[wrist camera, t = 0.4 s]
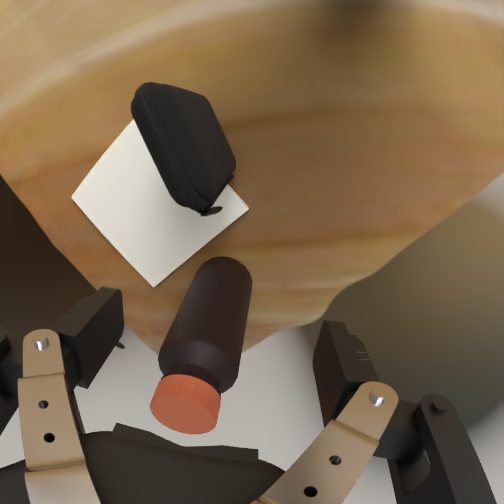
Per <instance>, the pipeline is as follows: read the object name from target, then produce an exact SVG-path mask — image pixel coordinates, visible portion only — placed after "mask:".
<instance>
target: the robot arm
mask: <svg viewBox="0 0 504 504" xmlns="http://www.w3.org/2000/svg"><path fill="white" fill-rule="evenodd" d="M123 329H124V317H123V303H122V293H121V290H119V289H114V288H109V287H105V286H103V287H101V288H100V289H99V290H98V291H97V292H96V293H95V294H94V295H93V296H88V297H86V298H84V299H82V300H80V301H79V302H78V303H77V304H76V305H75V306H74V307H73V308H72V309H70V310H69V311H68V314H67V313H66V314H65V315H64V316H63V317H62V318H61V319H60V320H59V321H58V322H57V323H56V324H55V325H54V326H53V327H52V328H51V329H50V330H48V329H40V330H35V331H33V332H31V333H29V334H28V335H27V336H26V337H25V338H24V340H19V339H9V338H8V334H7V331H6V329H5V328H4V327H3V326H1V325H0V435H1V434H2V432H3V430H4V429H5V427H6V425H7V423H8V422H9V420H10V419H11V417H12V415H13V414H14V413H15V411H16V410H17V408H18V407H19V414H20V425H21V433H22V441H23V448H24V455H25V459H24V460H21V461H19V462H17V463H14V464H11V465H8V466H6V467H3V468H0V504H342V502H343V501H344V499H345V498H346V497H347V495H348V493H349V492H350V491H351V489H352V487H353V486H354V485H355V483H356V481H357V480H358V478H359V477H360V475H361V474H362V472H363V470H364V469H365V467H366V465H367V464H368V462H369V460H370V458H371V457H372V456H376V457H382V458H387V461H388V466H389V470H390V474H391V479H392V483H393V488H394V492H395V497H396V502H397V504H497V503H496V500H495V498H494V495H493V493H492V490H491V487H490V485H489V482H488V480H487V477H486V475H485V473H484V470H483V468H482V465H481V463H480V461H479V459H478V456H477V454H476V452H475V449H474V447H473V445H472V443H471V441H470V439H469V436H468V434H467V432H466V430H465V428H464V426H463V424H462V422H461V420H460V418H459V416H458V414H457V412H456V410H455V408H454V406H453V404H452V403H451V402H450V401H449V400H448V399H446V398H445V397H443V396H441V395H437V394H428V395H426V396H424V397H423V398H422V400H421V401H420V403H419V404H415V403H410V402H405V401H401V400H398V396H397V394H396V392H395V391H394V390H393V389H392V388H391V387H389V386H388V385H386V384H384V383H380V381H379V379H378V376H377V374H376V372H375V370H374V367H373V365H372V363H371V361H370V360H369V359H370V358H369V356H368V354H367V353H366V349H365V347H364V345H363V343H362V342H361V341H360V340H359V339H358V338H357V337H356V336H355V335H349V334H348V331H347V329H346V326H345V324H344V322H339V321H329V320H325V321H324V322H323V324H322V327H321V331H320V334H319V337H318V341H317V344H316V347H315V351H314V355H313V370H314V375H315V380H316V385H317V391H318V396H319V401H320V406H321V412H322V417H323V423H324V430H323V431H322V432H321V433H320V434H319V436H318V437H317V438H316V439H315V440H314V442H313V443H312V444H311V445H310V446H309V447H308V448H307V450H306V451H305V452H304V453H303V454H302V455H301V456H300V457H299V458H298V459H297V461H296V462H295V463H294V464H293V465H292V466H291V467H290V468H289V469H288V470H287V471H286V472H285V471H284V470H282V469H281V468H279V467H277V466H275V465H273V464H271V463H268V462H266V461H263V460H260V459H258V449H248V448H239V447H231V446H223V445H220V446H198V447H197V446H196V447H184V446H180V445H178V444H175V443H173V442H171V441H169V440H166V439H164V438H162V437H160V436H158V435H155V434H153V433H151V432H149V431H145V430H141V429H137V428H134V427H130V426H127V425H123V424H120V423H116V425H115V427H114V429H113V431H100V432H92V433H87V434H86V433H85V430H84V426H83V423H82V420H81V416H80V412H79V409H78V405H77V401H76V397H75V394H74V391H73V390H74V388H75V387H76V385H77V386H80V387H83V388H86V389H88V387H89V386H90V384H91V382H92V381H93V379H94V378H95V376H96V375H97V373H98V371H99V370H100V368H101V367H102V365H103V364H104V362H105V361H106V359H107V358H108V356H109V354H110V353H111V351H112V350H113V348H114V347H115V345H116V344H117V342H118V341H119V339H120V338H121V336H122V333H123ZM426 453H427V455H426ZM427 456H428V458H427ZM428 459H429V461H428ZM429 462H430V464H429Z"/></svg>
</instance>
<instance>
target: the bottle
mask: <svg viewBox="0 0 504 504" xmlns="http://www.w3.org/2000/svg"><path fill="white" fill-rule="evenodd" d="M251 290H252V280H251V276H250V273H249V272H248V270H247V269H246V267H245V266H244V265H242V264H241V263H240V262H238V261H237V260H234V259H232V258H229V257H216V258H212V259H210V260H208V261H207V262H205V263H203V265H202V266H201V267H200V268H199V270H198V272H197V274H196V276H195V278H194V280H193V282H192V284H191V286H190V288H189V290H188V292H187V294H186V296H185V298H184V300H183V302H182V304H181V306H180V308H179V311H178V313H177V315H176V317H175V319H174V321H173V323H172V325H171V327H170V329H169V331H168V334H167V336H166V338H165V340H164V342H163V344H162V346H161V349H160V352H159V356H158V361H159V367H160V370H161V371H162V373H163V375H164V376H163V377H162V378H161V381H160V382H159V384H158V386H157V388H156V391H155V393H154V396H153V398H152V401H151V403H150V408H151V409H150V410H151V412H152V414H153V415H154V417H155V418H156V419H157V420H158V421H159V422H161V423H162V424H163V425H165V426H167V427H169V428H171V429H173V430H176V431H178V432H182V433H188V434H202V433H207V432H209V431H211V430H212V429H213V428H214V427H215V426H216V423H217V418H218V413H219V408H220V400H221V393H223V392H225V391H226V390H228V389H229V388H231V387H232V386H233V384H234V382H235V381H236V379H237V376H238V371H239V365H240V358H241V352H242V346H243V340H244V334H245V327H246V321H247V315H248V309H249V302H250V296H251Z"/></svg>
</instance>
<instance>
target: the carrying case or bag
mask: <svg viewBox="0 0 504 504" xmlns="http://www.w3.org/2000/svg"><path fill="white" fill-rule="evenodd" d="M131 113H132V116H133V119H134V121H135V123H136V125H137V127H138V129H139V132H140V134H141V136H142V138H143V140H144V142H145V145H146V147H147V149H148V151H149V153H150V155H151V157H152V159H153V161H154V163H155V165H156V168H157V170H158V172H159V174H160V176H161V178H162V180H163V182H164V184H165V186H166V188H167V190H168V192H169V194H170V196H171V197H172V199H173V200H174V201H175V202H176V203H177V204H178V205H180V206H182V207H187V208H190V209H191V210H194V211H196V212H198V214H200V215H201V216H211V215H215V214H217V213H219V212H220V211H221V210H222V209H223V207H221V206H216V207H212V206H213V205H214V203H215V201H216V200H217V199H218V197H219V196H220V194H221V193H222V191H223V190H224V189H225V187H226V186H227V184H228V183H229V182H230V180H231V179H232V178H233V177H234V176H233V174H232V172H233V171H234V169H235V167H236V161H235V157H234V155H233V153H232V150H231V148H230V146H229V144H228V142H227V140H226V137H225V135H224V133H223V131H222V129H221V127H220V124H219V122H218V120H217V118H216V116H215V114H214V112H213V109H212V107H211V105H210V103H209V102H208V100H207V99H206V98H205V97H204V96H202V95H200V94H197V93H194V92H191V91H188V90H185V89H182V88H178V87H175V86H171V85H167V84H159V83H153V82H148V83H144V84H142V85H140V86H139V87H138V89H137V90H136V92H135V97H134V98H133V100H132V103H131Z"/></svg>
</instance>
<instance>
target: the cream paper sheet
mask: <svg viewBox="0 0 504 504" xmlns="http://www.w3.org/2000/svg"><path fill="white" fill-rule="evenodd" d="M71 198H72V199H73V200H74V201H75V202H76V204H77V205H78V206H79V207H80V208H81V210H82V211H83V212H84V213H85V214H86V215H87V217H88V218H89V219H90V220H91V221H92V222H93V224H94V225H95V226H96V227H97V228H98V229H99V230H100V231H101V233H102V234H103V235H104V236H105V237H106V238H107V239H108V240H109V241H110V243H111V244H112V245H113V246H114V247H115V248H116V249H117V250H118V251H119V252H120V253H121V254H122V256H123V257H124V258H125V259H126V260H127V261H128V262H129V263H130V264H131V265H132V266H133V267H134V268H135V269H136V270H137V271H138V272H139V273H140V274H141V275H142V276H143V277H144V278H145V279H146V281H147V282H148V283H149V284H150V285H151V286H152V287H153V288H154V287H155V286H156V285H157V284H159V283H160V282H161V281H162V280H163V279H165V278H166V277H167V276H168V275H169V274H170V273H172V272H173V271H174V270H175V269H176V268H178V267H179V266H180V265H181V264H182V263H184V262H185V261H186V260H187V259H188V258H190V257H191V256H192V255H193V254H194V253H196V252H197V251H198V250H199V249H201V248H202V247H203V246H204V245H205V244H207V243H208V242H209V241H210V240H211V239H213V238H214V237H215V236H216V235H218V234H219V233H220V232H221V231H223V230H224V229H225V228H226V227H228V226H229V225H230V224H231V223H232V222H234V221H235V220H236V219H237V218H239V217H240V216H241V215H242V214H244V213H245V212H246V211H247V210H249V207H248V206H247V205H246V204H245V203H244V202H243V201H242V199H241V198H240V197H239V196H238V195H237V194H236V193H235V191H234V190H233V189H232V188H231V187H230V186H229V185H228V184H227V186H226V187H225V189H224V190H223V191H222V193H221V194H220V196H219V197H218V199H217V200H216V201H215V203H214V205H213V206H212V207H216V206H221V207H223V209H222V210H221V211H220V212H219V213H217V214H215V215H211V216H201V215H200V214H198V212H196V211H194V210H191V209H190V208H187V207H182V206H180V205H178V204H177V203H176V202H175V201H174V200H173V199H172V197H171V196H170V194H169V192H168V190H167V188H166V186H165V184H164V182H163V180H162V178H161V176H160V174H159V172H158V170H157V168H156V165H155V163H154V161H153V159H152V157H151V155H150V153H149V151H148V149H147V147H146V145H145V142H144V140H143V138H142V136H141V134H140V132H139V129H138V127H137V125H136V123H135V121H134V119H133V121H132V122H131V123H130V124H129V125H128V126H127V127H126V128H125V129H124V131H123V132H122V133H121V134H120V135H119V136H118V138H117V139H116V140H115V141H114V142H113V143H112V145H111V146H110V147H109V148H108V149H107V151H106V152H105V153H104V154H103V156H102V157H101V158H100V159H99V161H98V162H97V163H96V164H95V166H94V167H93V168H92V170H91V171H90V172H89V174H88V175H87V176H86V178H85V179H84V180H83V182H82V183H81V184H80V186H79V187H78V188H77V190H76V191H75V193H74V194H73V195H72V197H71Z"/></svg>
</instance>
